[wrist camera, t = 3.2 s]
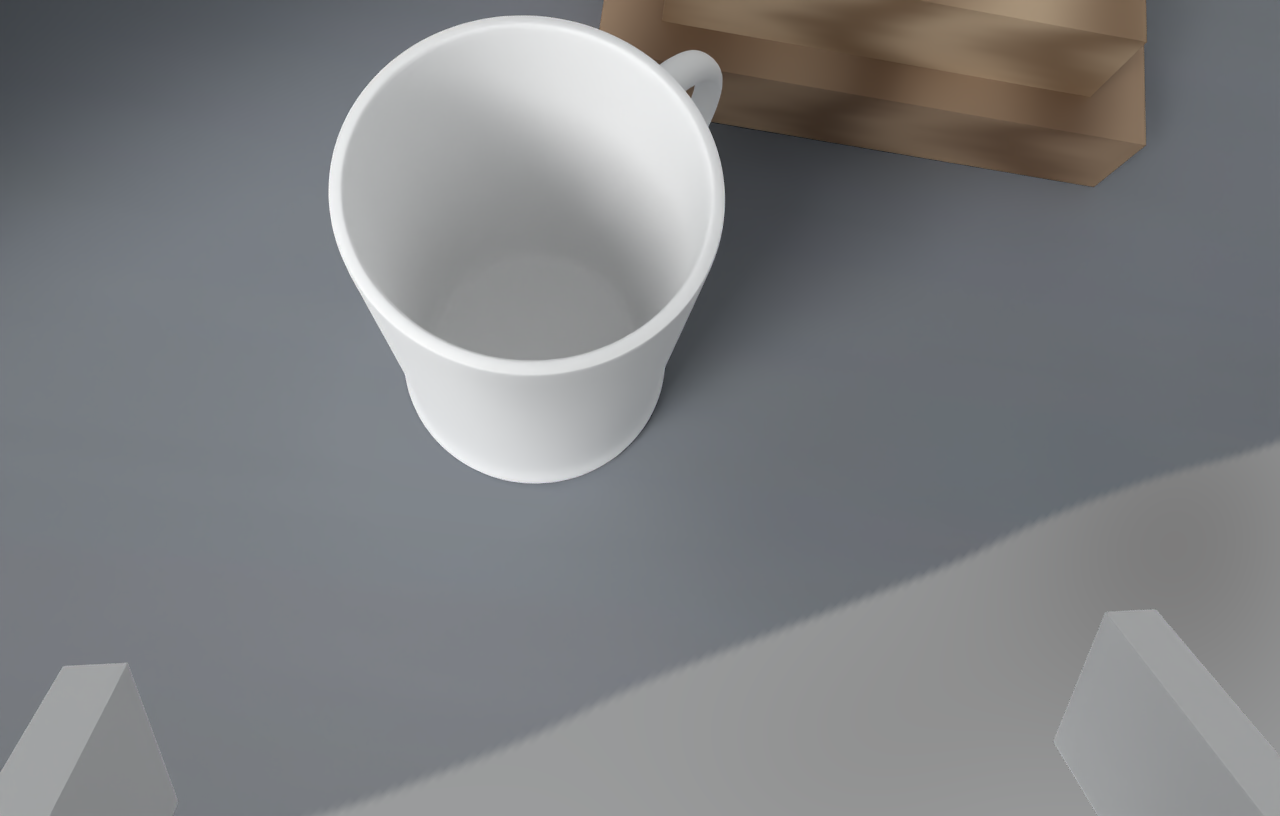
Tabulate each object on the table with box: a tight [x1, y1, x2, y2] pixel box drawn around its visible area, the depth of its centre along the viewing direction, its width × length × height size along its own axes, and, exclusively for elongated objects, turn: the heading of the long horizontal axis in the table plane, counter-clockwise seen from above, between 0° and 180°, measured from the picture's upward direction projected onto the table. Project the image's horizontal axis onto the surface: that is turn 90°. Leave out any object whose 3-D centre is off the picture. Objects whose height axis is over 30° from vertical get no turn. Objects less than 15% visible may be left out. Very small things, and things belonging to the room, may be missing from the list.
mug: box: [329, 15, 725, 483], centre depth 24 cm, size 12×8×12 cm
